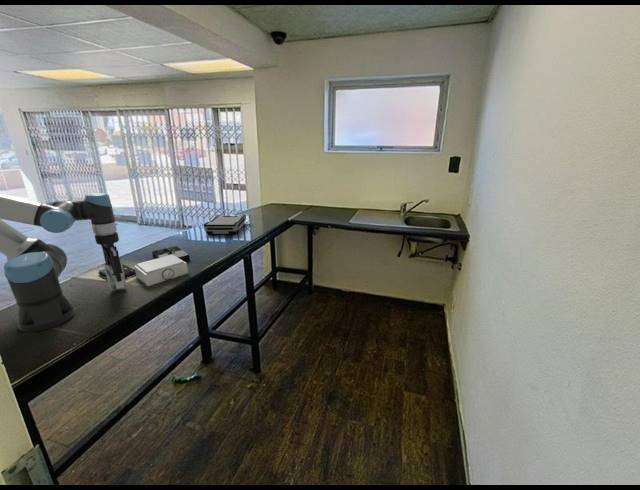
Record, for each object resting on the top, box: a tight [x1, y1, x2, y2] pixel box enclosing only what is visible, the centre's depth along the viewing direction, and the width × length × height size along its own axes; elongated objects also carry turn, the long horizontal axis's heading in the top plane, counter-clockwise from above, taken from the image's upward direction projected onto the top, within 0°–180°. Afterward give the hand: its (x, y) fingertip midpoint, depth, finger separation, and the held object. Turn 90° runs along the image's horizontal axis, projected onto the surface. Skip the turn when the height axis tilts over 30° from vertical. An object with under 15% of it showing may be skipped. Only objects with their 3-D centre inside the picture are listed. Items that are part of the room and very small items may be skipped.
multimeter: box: [151, 246, 191, 263], centre depth 157 cm, size 13×19×5 cm
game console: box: [203, 214, 247, 236], centre depth 209 cm, size 21×32×8 cm, turn 2°
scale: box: [133, 255, 189, 287], centre depth 137 cm, size 18×15×6 cm
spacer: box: [104, 262, 127, 290], centre depth 122 cm, size 6×6×10 cm
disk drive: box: [98, 263, 136, 279], centre depth 138 cm, size 10×3×15 cm
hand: (117, 285), depth 124 cm, fingers closed on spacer, 6 cm apart
